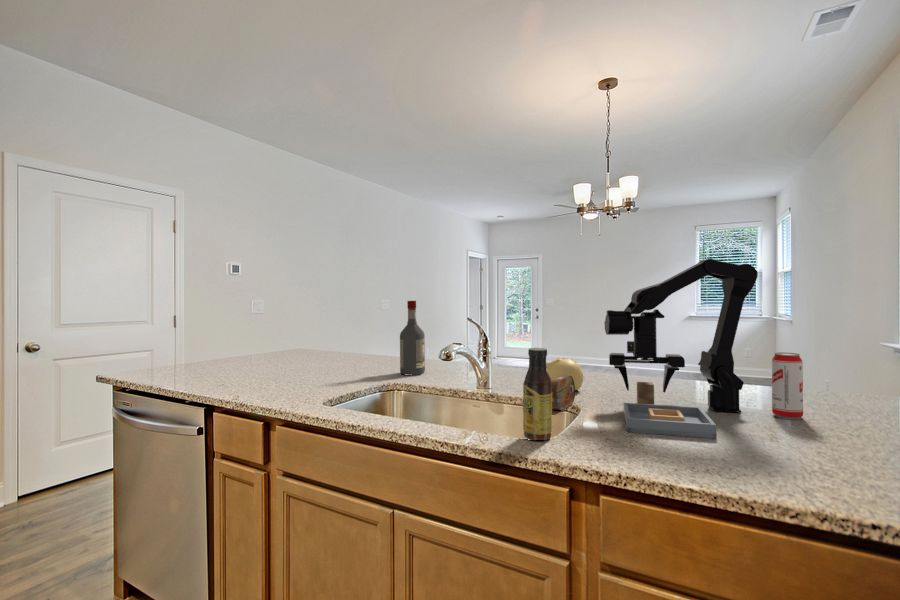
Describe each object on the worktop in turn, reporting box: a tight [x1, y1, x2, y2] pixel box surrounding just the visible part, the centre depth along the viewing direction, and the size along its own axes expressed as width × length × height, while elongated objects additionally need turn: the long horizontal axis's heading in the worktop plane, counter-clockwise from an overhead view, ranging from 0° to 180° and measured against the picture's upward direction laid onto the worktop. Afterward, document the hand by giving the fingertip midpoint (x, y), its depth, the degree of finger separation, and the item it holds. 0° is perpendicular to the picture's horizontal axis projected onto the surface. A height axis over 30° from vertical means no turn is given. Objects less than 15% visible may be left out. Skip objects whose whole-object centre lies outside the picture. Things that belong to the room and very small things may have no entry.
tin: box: [551, 375, 576, 411], centre depth 127 cm, size 15×3×8 cm, turn 146°
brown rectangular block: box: [636, 380, 655, 405], centre depth 123 cm, size 4×4×7 cm
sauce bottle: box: [522, 347, 553, 441], centre depth 99 cm, size 7×6×20 cm
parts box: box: [623, 402, 718, 440], centre depth 107 cm, size 18×16×3 cm
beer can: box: [771, 351, 804, 421], centre depth 113 cm, size 6×6×16 cm
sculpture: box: [546, 357, 584, 391], centre depth 149 cm, size 12×12×11 cm
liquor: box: [399, 300, 426, 376], centre depth 184 cm, size 9×9×30 cm
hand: (645, 391), depth 123 cm, fingers open, 9 cm apart
